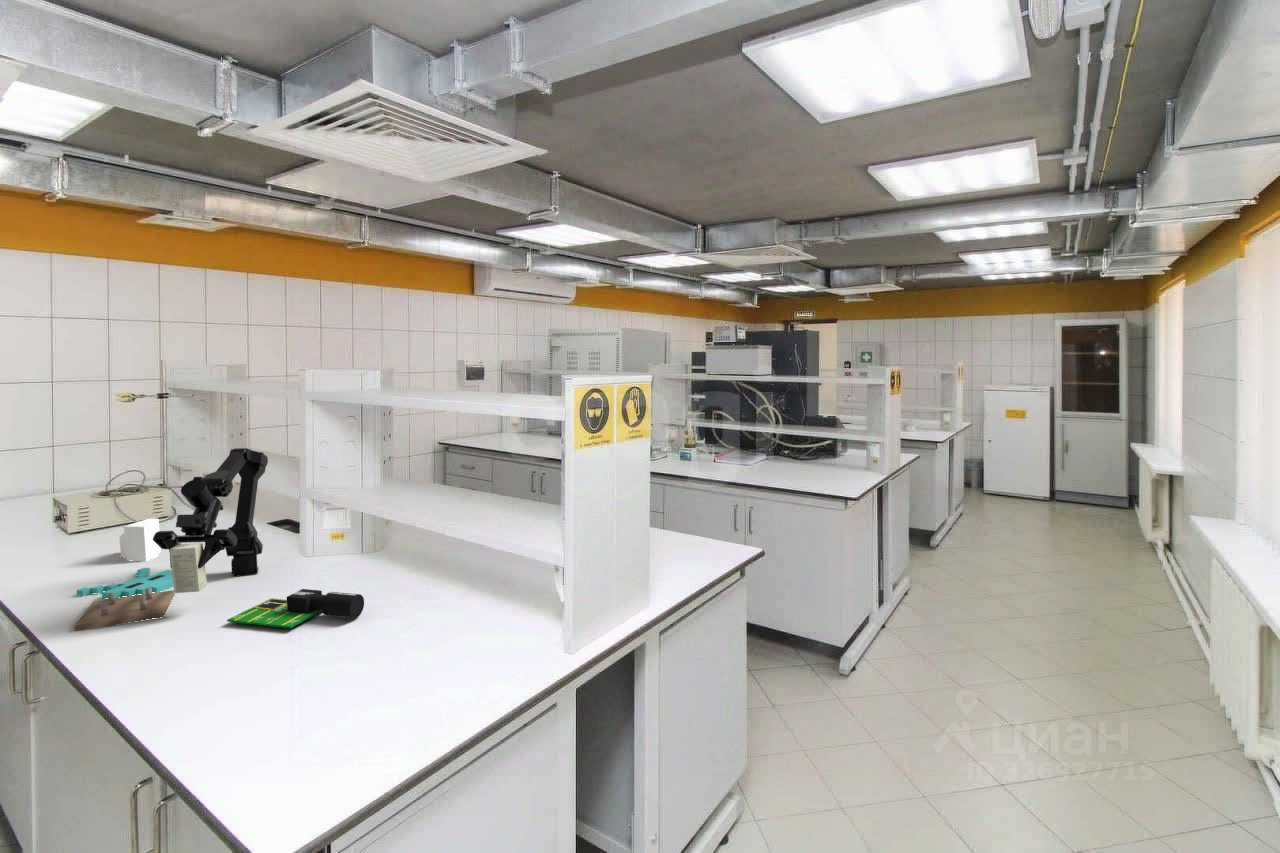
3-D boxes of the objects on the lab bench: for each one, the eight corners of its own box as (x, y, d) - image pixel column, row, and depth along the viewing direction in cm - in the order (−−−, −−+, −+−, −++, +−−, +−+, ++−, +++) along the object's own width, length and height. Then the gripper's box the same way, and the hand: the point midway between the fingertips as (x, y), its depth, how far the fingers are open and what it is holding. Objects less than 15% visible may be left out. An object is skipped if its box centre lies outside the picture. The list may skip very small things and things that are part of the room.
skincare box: (207, 586, 171) (204, 542, 170) (199, 592, 167) (196, 547, 166) (181, 587, 170) (178, 543, 169) (172, 593, 166) (169, 548, 165)
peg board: (174, 595, 182) (173, 580, 181) (163, 617, 166) (162, 601, 166) (93, 606, 173) (92, 590, 173) (74, 631, 158) (73, 613, 157)
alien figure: (77, 597, 181) (134, 603, 177) (76, 589, 180) (133, 595, 176) (144, 574, 200) (197, 579, 196) (144, 567, 200) (197, 572, 196)
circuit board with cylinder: (225, 600, 161) (270, 580, 176) (227, 626, 162) (271, 604, 177) (329, 610, 156) (366, 589, 171) (330, 637, 156) (367, 613, 171)
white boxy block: (146, 561, 211) (143, 526, 210) (112, 561, 211) (110, 526, 210) (170, 552, 222) (168, 518, 220) (138, 551, 222) (136, 518, 220)
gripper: (154, 501, 168) (131, 555, 159) (230, 500, 171) (212, 552, 162) (172, 522, 177) (152, 574, 167) (245, 521, 180) (228, 571, 170)
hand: (185, 567), depth 167 cm, fingers closed on skincare box, 6 cm apart
